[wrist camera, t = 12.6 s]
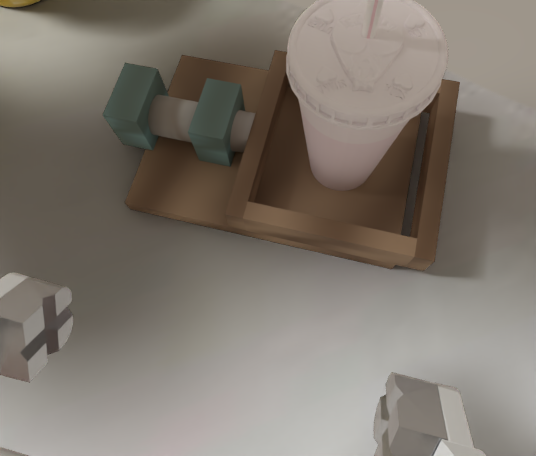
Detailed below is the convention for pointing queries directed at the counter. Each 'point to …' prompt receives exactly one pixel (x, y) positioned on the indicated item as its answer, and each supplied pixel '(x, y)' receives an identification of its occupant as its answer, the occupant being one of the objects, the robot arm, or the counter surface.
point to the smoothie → (361, 80)
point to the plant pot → (17, 3)
